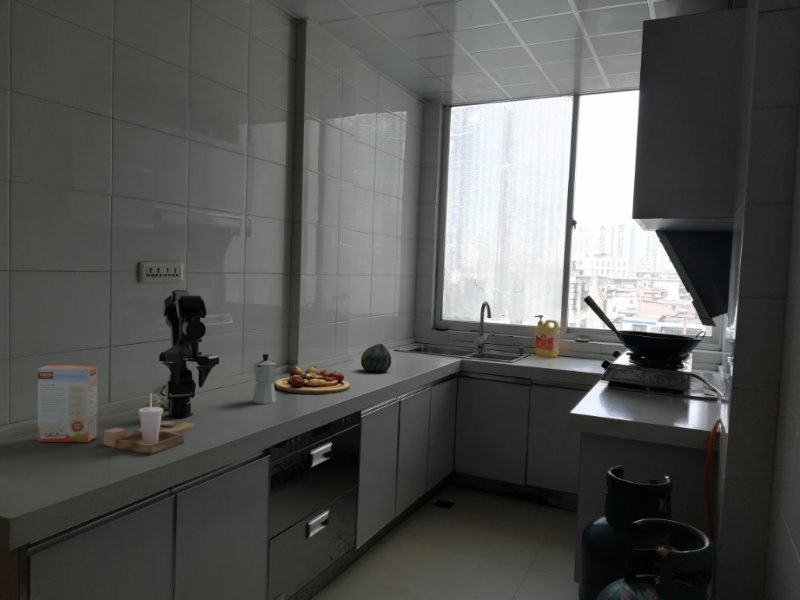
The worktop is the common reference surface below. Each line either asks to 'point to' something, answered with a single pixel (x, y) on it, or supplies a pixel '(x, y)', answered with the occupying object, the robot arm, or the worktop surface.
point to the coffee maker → (264, 381)
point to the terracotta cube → (113, 436)
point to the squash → (376, 358)
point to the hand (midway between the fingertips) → (188, 385)
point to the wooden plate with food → (312, 382)
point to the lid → (173, 427)
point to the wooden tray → (137, 445)
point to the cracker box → (67, 403)
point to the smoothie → (150, 423)
